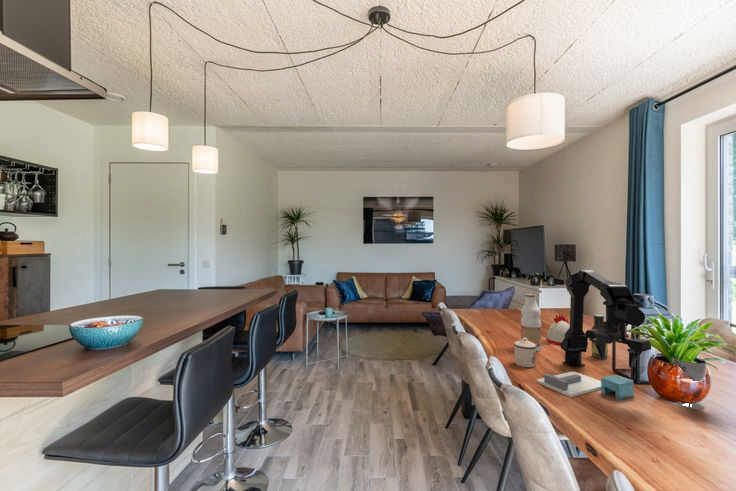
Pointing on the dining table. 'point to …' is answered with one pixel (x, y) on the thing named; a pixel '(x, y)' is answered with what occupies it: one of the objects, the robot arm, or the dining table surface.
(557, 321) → the kitchen timer
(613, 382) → the slotted lock block
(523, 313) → the fruit juice
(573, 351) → the robot arm
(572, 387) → the rail base plate
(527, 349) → the teacup with lid
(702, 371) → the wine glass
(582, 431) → the dining table surface
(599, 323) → the sauce bottle
